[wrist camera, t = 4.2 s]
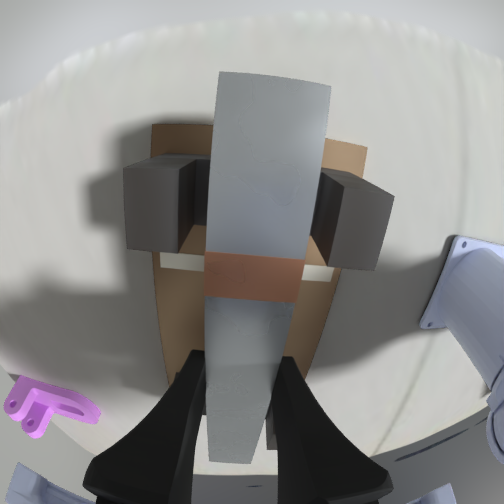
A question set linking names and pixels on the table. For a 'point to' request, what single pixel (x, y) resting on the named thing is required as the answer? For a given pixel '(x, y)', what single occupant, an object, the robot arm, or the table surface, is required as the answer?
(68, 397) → the bracket
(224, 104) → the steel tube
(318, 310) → the board
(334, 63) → the table surface
